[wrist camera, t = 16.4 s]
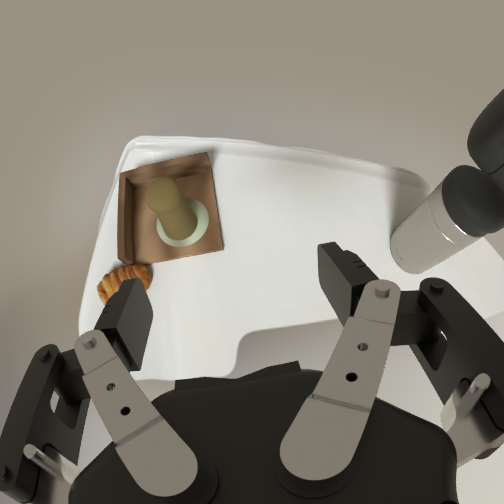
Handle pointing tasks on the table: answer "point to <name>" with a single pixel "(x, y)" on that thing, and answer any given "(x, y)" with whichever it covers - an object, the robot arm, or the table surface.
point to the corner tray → (147, 222)
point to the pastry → (116, 278)
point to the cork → (171, 208)
